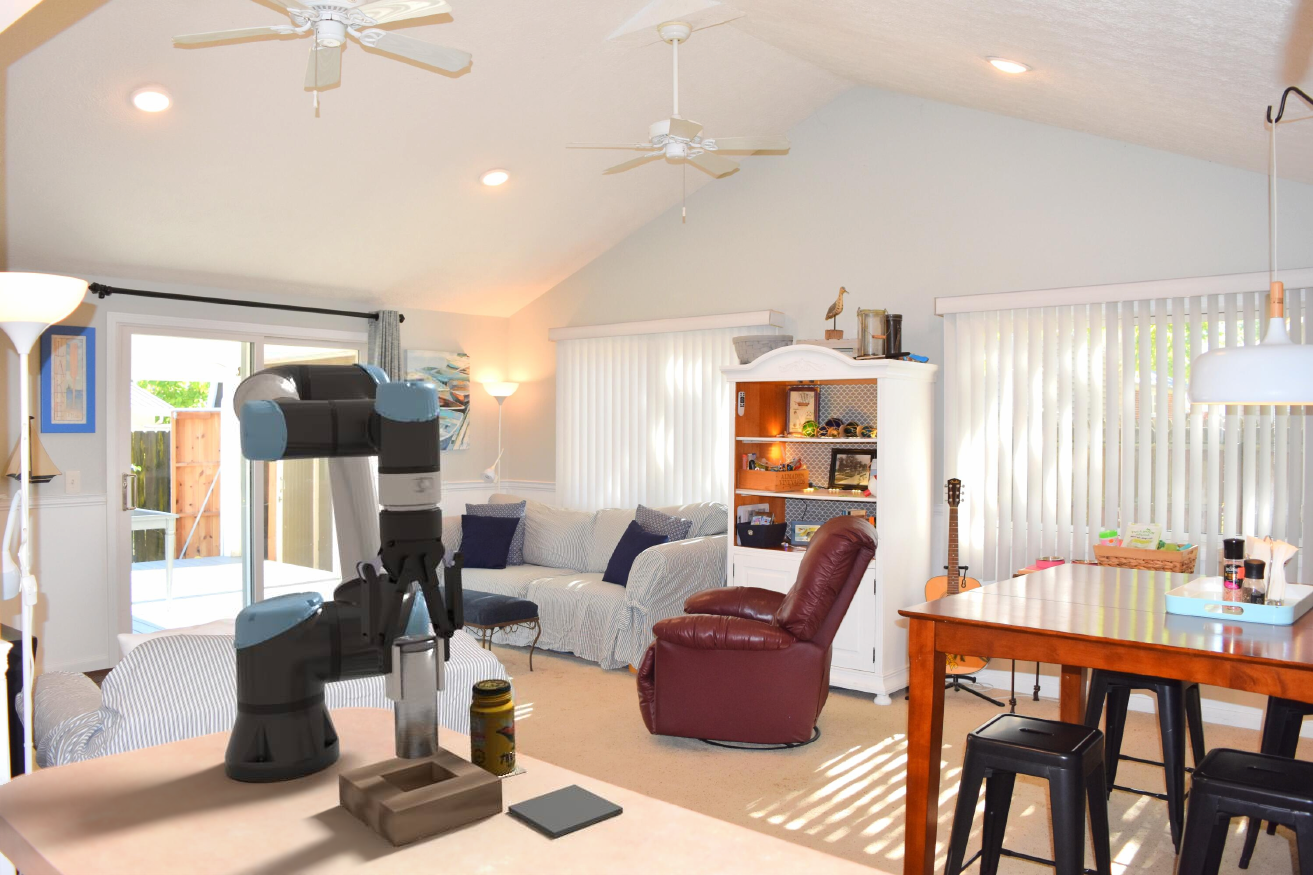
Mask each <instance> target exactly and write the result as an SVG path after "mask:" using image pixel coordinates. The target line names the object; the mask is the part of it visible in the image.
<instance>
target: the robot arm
mask: <svg viewBox="0 0 1313 875" xmlns="http://www.w3.org/2000/svg"><path fill="white" fill-rule="evenodd" d="M233 394H234V395H233V399H232V400H233V401H232V404H233V405H232V406H233V407H232V408H233V411H234V414H235V416H236V418H237V420H238V421H239V436H240V437H239V438H240V448H241V454H242V456H243V458H244V459H246V460H248V461H255V462H256V461H258V462H259V461H261V462H262V461H264V462H265V461H266V462H271V463H272V462H277V461H287V460H289V461H291V460H309V459H327V466H328V473H329V474H328V475H329V482H330V490H331V498H332V499H331V500H332V505H333V506H332V507H333V517H334V524H335V532H336V540H337V548H338V557H339V564H340V566H339V567H340V574H341V581H340V582H339V584H337V586H336V587H335V588H334V589H333V593H332V598H333V600H326V601H324V597H322V594H321V593H320V592H317V591H303V592H299V591H298V592H293V593H287V594H282V595H277V596H273V597H269V598H266V599H265V598H264V599H262V600H260V601H257V602H253V603H252V604H250V605H247V606H246V607H244V608H243V609H242V610H240V611H239V613H238V614H237V615H236V618H235V622H234V640H233V643H232V645H233V646H232V647H233V648H234V649H235V674H236V675H235V676H236V677H235V679H236V680H235V681H236V684H235V685H236V717H235V719H234V720H235V721H234V724H233V727H232V731H231V733H230V737H229V741H228V744H227V747H226V751H225V755H224V768H225V770H224V771H225V774H226V775H227V776H229V777H230V778H231V779H234V780H238V781H241V782H251V783H253V782H254V783H257V782H258V783H259V782H260V783H262V782H263V783H264V782H265V783H266V782H277V781H278V782H279V781H285V780H290V779H296V778H300V777H303V776H308V775H310V774H314V773H316V772H319V771H321V770H323V769H324V770H325V768H328V767H330V766H331V765H333V764H334V763H335V762H336V761H337V760H339V757H340V754H341V753H340V752H341V751H340V750H341V749H340V738H339V735H338V732H337V730H336V727H335V725H334V722H333V720H332V717H331V714H330V711H329V710H328V706H327V704H326V693H325V692H326V691H325V690H326V688H325V686H326V684H330V683H338V682H345V681H352V680H361V679H369V678H374V677H375V678H376V677H381V676H384V683H385V686H384V689H385V697H386V698H387V699H389V700H391V701H393V702H394V701H395V702H396V701H401V678H400V647H398V646H395V645H393V643H394V639H396V638H399V637H403V636H409V635H430V634H429V632H430V623H431V626H432V630H433V633H434V634H435V635H434V634H433V635H431V636H434V637H436V667H437V692H445V691H446V681H445V680H446V674H445V673H446V672H445V666H446V664H445V663H446V662H449V661H450V658H451V653H450V652H451V650H450V649H451V647H450V646H451V644H450V642H451V640H450V639H451V638H453V637H454V636H455V632H456V631H460V630H462V629H463V628H464V626H465V620H464V617H465V616H464V602H463V600H464V598H463V579H462V569H463V566H464V563H465V559H466V554H465V553H464V552H463V551H459V550H453V549H452V550H451V549H446V548H445V545H444V543H443V541H442V537H443V536H442V535H443V510H442V509H441V507H439V506H437V504H440V503H441V501H442V481H441V479H442V475H441V474H442V472H441V438H440V437H441V434H440V431H441V430H440V416H441V415H440V414H441V411H442V410H441V406H440V401H439V392H438V386H437V385H436V384H435V383H433V382H431V381H417V380H415V381H414V380H413V381H390V378H389V376H388V374H387V372H385V370H384V369H382V368H381V367H380V366H377V365H373V364H361V363H357V362H355V363H352V364H307V363H306V364H298V363H289V364H282V365H281V364H280V365H275V366H271V367H268V368H264V369H261V370H258V371H257V372H254V373H252V374H251V375H249V376H247V377H246V378H244V379H243V381H241V382H240V383H239V384H238V386H237V388H236V389H235V392H234V393H233ZM440 563H442V565H443V566H444V567H443V582H444V584H443V585H444V599H443V597H442V595H441V590H440V586H439V585H440V581H439V577H438V574H437V569H438V567H439V565H440ZM414 582H417V584H418V585H419V586H420V587H421V591H420V590H416V591H415V590H414V587H413V583H414ZM443 600H444V601H443ZM444 603H445V604H444Z"/></svg>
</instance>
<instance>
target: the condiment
mask: <svg viewBox="0 0 1313 875" xmlns="http://www.w3.org/2000/svg"><path fill="white" fill-rule="evenodd" d="M511 690H512V685H511V683H510V682H509V681H508V680H505V679H502V678H501V679H499V678H498V679H497V678H494V679H492V678H491V679H490V678H489V679H484V680H479V681H477V682H475V683H474V684H473V685H472V688H471V691H472V695H471V700H472V702H471V704H470V705H469V730H470V731H469V733H470V734H469V735H470V762H471V763H473V764H474V765H476V766H478V767H480V768H482V769H484V770H486V771H488V772H490V773H491V774H493V775H495V776H497V777H498V776H503V775H506V774H509V773H512V772H513V773H516V774H513V773H512V774H513V775H510V776H511V777H512V776H515V775H518V774H523V773H525V772H527V769H525V768H524V767H523V766H520V765H518V764H517V763H516V755H517V754H516V749H517V747H516V733H515V732H516V727H515V703H514V701H513V700H512V691H511ZM510 752H512V753H510ZM513 753H514V754H513ZM510 776H509V777H510Z"/></svg>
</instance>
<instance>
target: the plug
mask: <svg viewBox="0 0 1313 875" xmlns="http://www.w3.org/2000/svg"><path fill="white" fill-rule="evenodd" d="M393 645H395V646H398V647H400V678H401V701H396V702H395V701H393V705H394V706H393V707H394V708H393V710H394V738H395V739H394V742H395V743H394V745H395V746H394V748H395V749H394V750H395V756H396V758H397V757H399V758H403V759H420V758H425V757H429V756H432V755H434V754H436V753H437V752H438V750H439V746H440V745H439V744H440V743H439V712H438V707H439V706H438V691H437V667H436V637H434V636H432V635H431V634H429V635H409V636H403V637H399V638H396V639H394V643H393Z"/></svg>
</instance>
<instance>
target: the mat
mask: <svg viewBox="0 0 1313 875" xmlns="http://www.w3.org/2000/svg"><path fill="white" fill-rule="evenodd" d="M507 808H508V809H507V811H508V812H509V813H511V814H512V815H514V816H516V817H517V818H519V819H520V820H521V819H522V820H523V821H525V822H526V823H528V824H530V825H531V826H534V827H535V828H536V829H538V830H540V831H542V832H543V833H545V834H547V835H549V836H551V837H553V839H554V838H555V839H556V838H557V837H560V836H561V837H562V836H563V835H566V834H569V833H572V832H574V831H577V830H580V829H582V828H585V827H588V826H591V825H593V824H595V823H598V822H601V821H603V820H607V819H609V818H612V817H615V816H619V815H620V814H623V812H624V810H623V807H622V806H621V805H618V804H616V803H614V802H612V801H610V800H608V799H606V798H604V797H601V796H599V795H597V794H595V793H593V792H591V791H589V790H588V789H585V788H583V787H581V786H579V785H577V784H572V785H568V786H565V787H562V788H560V789H556V790H554V791H550V792H548V793H545V794H541V795H538V796H535V797H532V798H529V799H526V800H523V801H521V802H518V803H515V804H511V805H509V806H507Z"/></svg>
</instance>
